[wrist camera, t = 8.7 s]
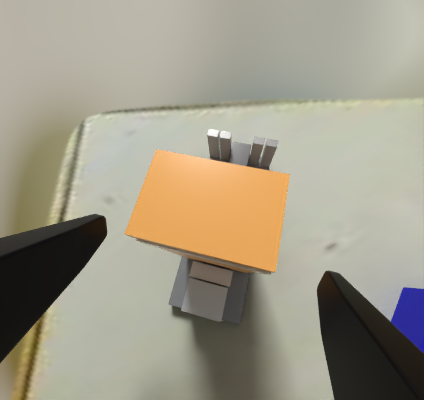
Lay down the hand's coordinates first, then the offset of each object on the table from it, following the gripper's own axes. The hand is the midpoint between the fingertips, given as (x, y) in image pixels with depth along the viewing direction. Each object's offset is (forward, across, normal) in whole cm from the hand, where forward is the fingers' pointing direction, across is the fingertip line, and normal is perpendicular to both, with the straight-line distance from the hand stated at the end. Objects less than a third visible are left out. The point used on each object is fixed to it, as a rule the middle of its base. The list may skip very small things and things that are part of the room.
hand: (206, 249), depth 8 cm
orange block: (+7, 0, +5) cm, 9 cm away
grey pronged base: (+9, 0, +4) cm, 10 cm away
